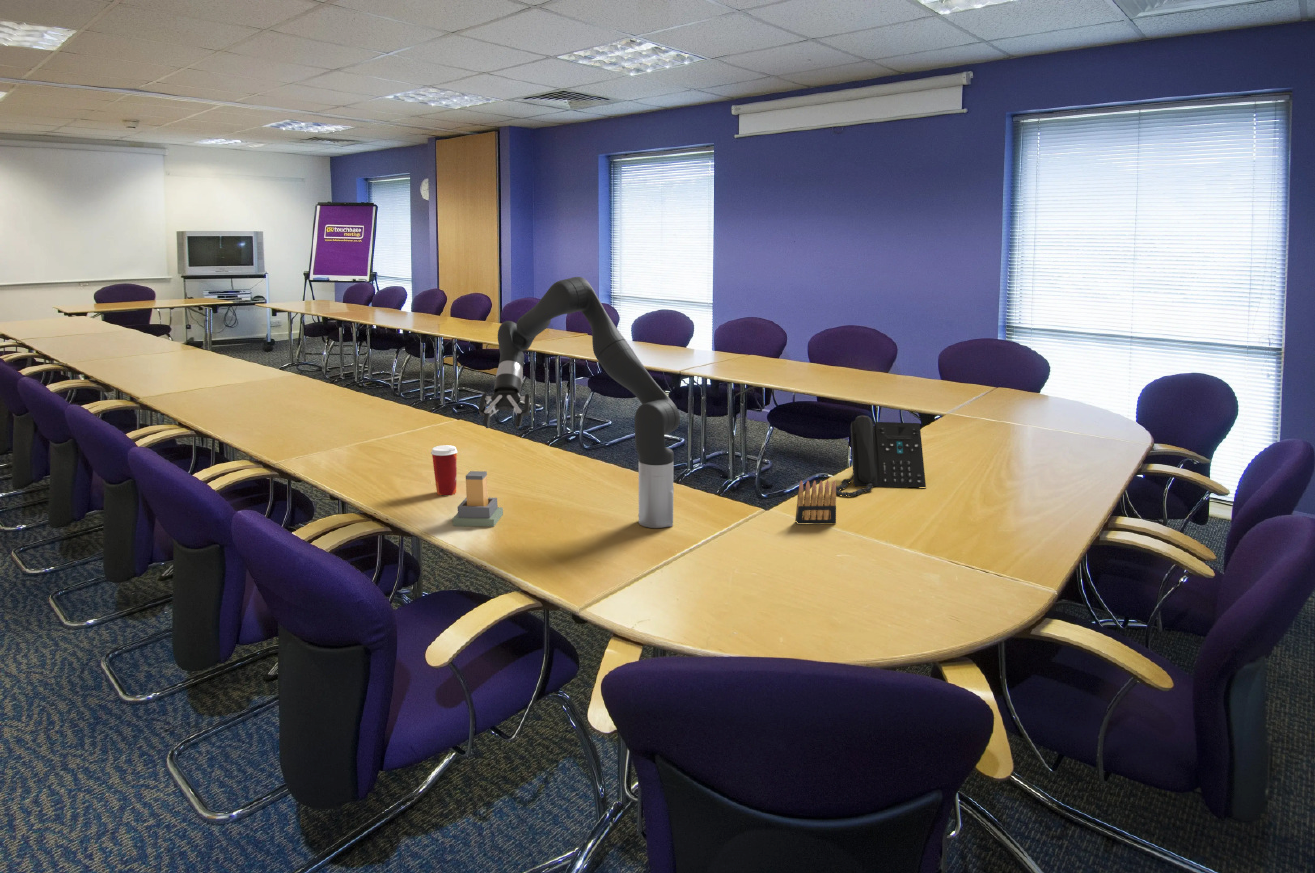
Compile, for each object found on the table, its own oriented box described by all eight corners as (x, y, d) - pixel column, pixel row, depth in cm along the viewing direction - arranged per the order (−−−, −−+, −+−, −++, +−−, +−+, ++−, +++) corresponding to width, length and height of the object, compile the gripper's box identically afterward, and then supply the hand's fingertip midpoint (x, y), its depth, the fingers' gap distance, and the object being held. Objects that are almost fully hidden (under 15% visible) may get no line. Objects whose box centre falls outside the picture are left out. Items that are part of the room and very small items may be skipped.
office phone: (834, 497, 239) (838, 431, 235) (823, 471, 267) (826, 412, 262) (935, 500, 237) (941, 434, 232) (913, 474, 264) (918, 414, 260)
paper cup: (465, 492, 242) (462, 446, 239) (446, 498, 236) (443, 452, 232) (447, 487, 246) (444, 443, 243) (427, 494, 240) (424, 448, 236)
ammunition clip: (834, 521, 218) (836, 479, 215) (836, 523, 216) (838, 481, 213) (795, 522, 218) (797, 479, 215) (796, 524, 216) (798, 481, 213)
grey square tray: (503, 514, 222) (502, 497, 221) (493, 526, 213) (493, 508, 211) (463, 513, 223) (462, 496, 222) (452, 525, 213) (451, 507, 212)
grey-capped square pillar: (488, 510, 219) (486, 471, 217) (484, 515, 215) (482, 476, 212) (472, 509, 220) (470, 471, 217) (467, 515, 215) (465, 475, 213)
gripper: (481, 372, 231) (473, 419, 222) (531, 372, 230) (524, 419, 222) (487, 387, 237) (479, 434, 229) (535, 387, 237) (529, 434, 228)
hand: (501, 426), depth 225 cm, fingers open, 8 cm apart
